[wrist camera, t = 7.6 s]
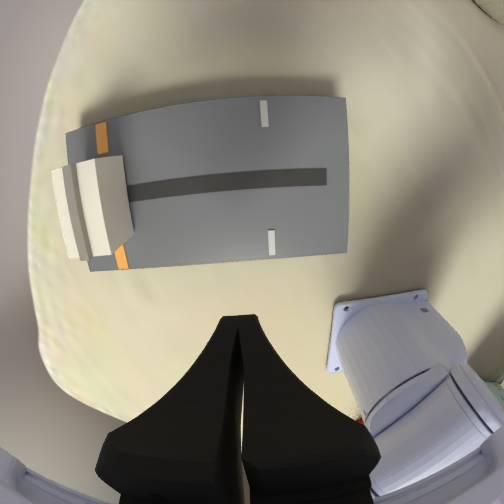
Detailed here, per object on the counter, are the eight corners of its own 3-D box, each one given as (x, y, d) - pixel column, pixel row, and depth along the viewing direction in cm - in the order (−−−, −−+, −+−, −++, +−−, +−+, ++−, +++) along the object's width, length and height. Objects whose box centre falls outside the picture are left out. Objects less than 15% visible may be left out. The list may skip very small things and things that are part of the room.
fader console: (335, 102, 16) (346, 97, 14) (337, 242, 19) (347, 253, 17) (80, 133, 15) (64, 133, 13) (101, 260, 19) (89, 272, 17)
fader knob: (122, 155, 14) (89, 159, 10) (134, 233, 16) (107, 258, 12) (83, 164, 14) (45, 172, 10) (95, 238, 16) (64, 262, 12)
